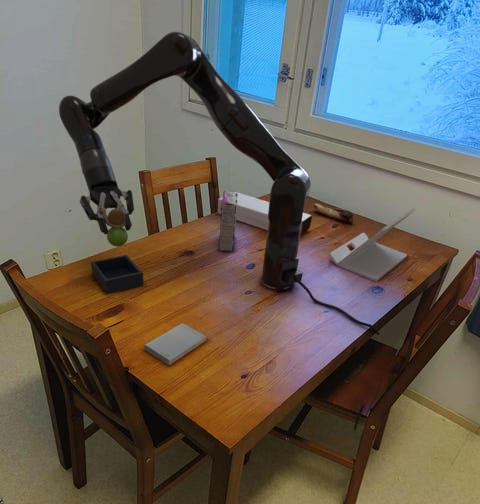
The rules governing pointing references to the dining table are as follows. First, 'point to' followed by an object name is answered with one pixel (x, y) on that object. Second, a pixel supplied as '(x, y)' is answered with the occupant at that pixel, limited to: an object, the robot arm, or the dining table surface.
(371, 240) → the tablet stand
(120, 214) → the snail figurine
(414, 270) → the dining table surface
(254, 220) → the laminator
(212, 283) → the dining table surface
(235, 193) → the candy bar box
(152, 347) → the hard drive
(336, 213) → the wooden log
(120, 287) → the holder
